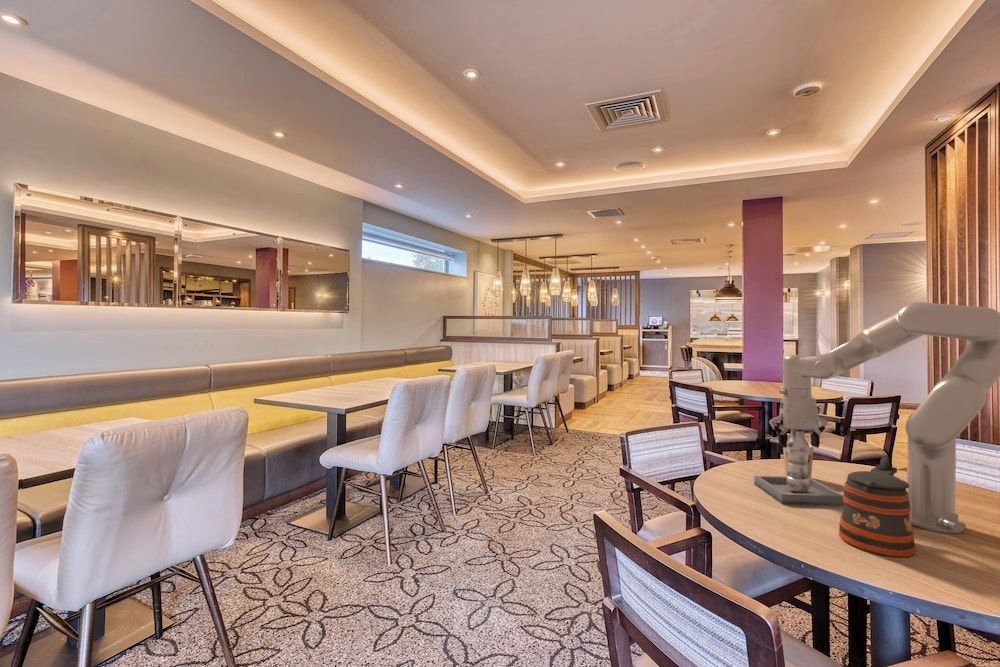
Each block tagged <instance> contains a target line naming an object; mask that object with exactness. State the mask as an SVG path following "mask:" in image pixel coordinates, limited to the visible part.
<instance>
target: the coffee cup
mask: <svg viewBox="0 0 1000 667" xmlns="http://www.w3.org/2000/svg"><path fill="white" fill-rule="evenodd" d="M808 444H809V443H808ZM814 448H815V447H814V446H812V445H811V443H810V444H809V455H808V464H807V470H808V477H810V478H812V472H813V471H812V470H813V461H814V460H813V459H814V458H813V457H814V450H815V449H814ZM782 450H783V463H784V465H783V466H784V474H785V476H784V477H786V476H787V473H788V455H787V449H786V448H784V447H782Z"/></svg>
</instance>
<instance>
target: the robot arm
mask: <svg viewBox="0 0 1000 667" xmlns="http://www.w3.org/2000/svg"><path fill="white" fill-rule="evenodd" d="M922 336H932V337H940V338H949V339H957V340H964V341H966V346H965V349H964V350H963V352H962V353H961V355H960V356H959V358H958V359H957V360H956V361H955V363H954V364H953V366H951V367H950V369H949V370H948V372H947V373H945V375H944V376H943V377H942V378H940V379H939V380H938V381H937V382H936V383H935V384H934V386H933V388H932V389H931V391H930V392H929V393H928V394H927V395H926V397H925V398H924V399H923V401H922V402H921V404H919V406H918V407H917V408H916V409H915V410H914V411H912V412H911V413H910V415H909V416H908V418H907V420H906V422H905V432H906V435H907V464H906V465H907V470H906V471H907V474H906V475H907V480H906V482H907V483H908V485H909V488H906V491H907V492H908V496H909V503H910V509H911V512H910V519H911V526H914V527H918V528H920V529H924V530H929V531H932V532H938V533H945V534H959V533H963V532H964V531H965V528H967V525H966V523H963V522H962V521H959V514H957V513H956V479H957V478H956V471H957V468H956V466H957V465H956V464H957V461H956V460H957V459H956V458H957V456H956V454H957V452H956V450H957V448H956V447H957V444H956V442H957V438H958V437H959V435H961V433H963V431H964V430H965V429H966V428H967V426H968V425H969V424H970V423H971V422H972V421H973V419H974V418H975V417H976V416H977V415H978V414H979V413H980V412H981V410H982V408H984V406H985V403H986V400H987V394H988V392H989V391H990V389H991V388H992V387H993V385H994V384H995V383H996V382H997V381H998V379H999V378H1000V312H999V311H998V310H996V309H994V308H991V307H988V306H987V307H986V306H976V305H974V306H972V305H958V304H946V303H944V304H943V303H935V302H925V301H916V302H911V303H908V304H906V305H904V306H903V307H902V308H901V309H900V310H898V311H897V312H895V313H893V314H891V315H889V316H887V317H885V318H884V319H882V320H880V321H878V322H876V323H874V324H872V325H870V326H868V327H866V328H864V329H863V330H861V331H860V332H858V334H856V335H855V336H854V337H853V338H852V339H850V340H848V341H847V342H846V343H843V344H842V345H840V346H838V347H836V348H834V349H833V350H830V351H828V352H826V353H824V354H820V355H819V354H818V355H810V356H809V355H806V354H789V355H788V354H787V355H785V356H784V357H783V358H782V380H783V384H782V385H783V386H782V389H779V391H778V392H779V394H780V395H783V396H782V397H781V399H780V405H779V412H778V413H779V415H777V416H775V417H773V418H771V419H770V420H769V421H768V422H769V424H770V426H771V427H772V429H773V430H774V431H775V432H776V434H777V435H778V436H777V437H778V444H779V446H780V447H782V448H783V447H784V448H786V447H787V441H788V440H787V438H788V436H787V435H786V433H787V432H788V431H789V430H790V431H791V430H804V431H811V432H810V445H812V446H813V448H820V444H821V441H820V440H821V439H820V436H821V435H822V433H823V432H824V431H825V430H826V427H827V425H828V423H829V421H828V419H827V420H826V419H825V418H822V417H821V416H819V409H818V405H817V402H816V399H815V397H812V379H818V380H830V379H833V378H835V377H838V376H840V375H842V374H843V373H846V372H848V371H850V370H851V369H854V368H855V367H858V366H860V365H862V364H865V363H866V362H868V361H870V360H873V359H876V358H879V357H881V356H884V355H885V354H888V353H890V352H892V351H894V350H896V349H898V348H900V347H902V346H904V345H906V344H908V343H910V342H912V341H915V340H916V339H918V338H920V337H922ZM777 423H779V426H778V424H777Z"/></svg>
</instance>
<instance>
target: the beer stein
mask: <svg viewBox="0 0 1000 667" xmlns="http://www.w3.org/2000/svg"><path fill="white" fill-rule="evenodd" d="M896 473H898V468H897V467H893V466H891V465H890V458H889V456H886V455H885V456H884V455H882V457H881V459H880V462H879V464H877V465H876V466H875V467H873V468H871V470H869V471H868V470H867V471H866V470H861V471H853V472H850V473H848V474H847V477H846V480H845V482H844V489H843V493H842V495H843V501H844V505H843V506H842V515H840V517H839V518H840V519H839V525H838V526H839V528H838V536H839V538H840V539H841V540H843V541H844V542H846V543H847V544H848V545H851V546H853V547H854V548H857V549H859V550H861V551H864V552H868V553H871V554H875V555H882V556H887V557H892V558H907V557H908V558H909V557H912V556H915V555H916V545H915V533H914V530H913V529H912V528H913V527H912V525H911V519H910V512H911V509H910V503H909V496H908V492H907V488H909V485H908V483H907V481H906V480H903V479H902V478H900V477H897V476H895V474H896Z"/></svg>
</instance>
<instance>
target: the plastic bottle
mask: <svg viewBox="0 0 1000 667" xmlns="http://www.w3.org/2000/svg"><path fill="white" fill-rule="evenodd" d="M790 435H791V436H790V438H788V440H787V447H786V449H787V455H788V473H787V477H786V476H785V477H786V485H787V487H788V489H789V490H791V491H794V492H799V493H806V492H808V491H809V488H810V483H809V478H808V470H807V464H808V455H809V443H808V441H807V440H806V439H805V437H806V436H805V435H806V434H805V430H791V429H790Z"/></svg>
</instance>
